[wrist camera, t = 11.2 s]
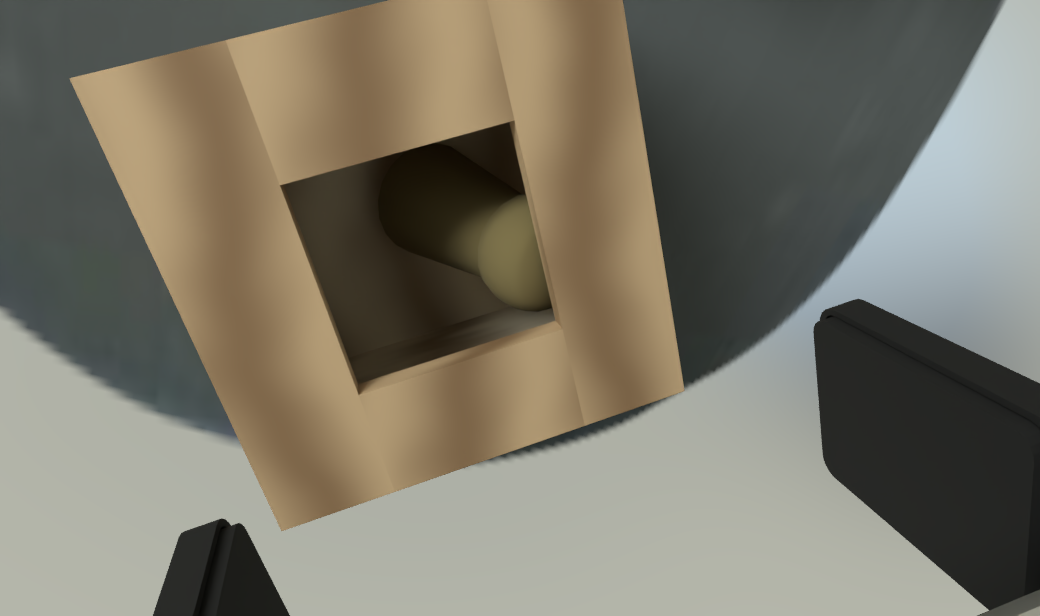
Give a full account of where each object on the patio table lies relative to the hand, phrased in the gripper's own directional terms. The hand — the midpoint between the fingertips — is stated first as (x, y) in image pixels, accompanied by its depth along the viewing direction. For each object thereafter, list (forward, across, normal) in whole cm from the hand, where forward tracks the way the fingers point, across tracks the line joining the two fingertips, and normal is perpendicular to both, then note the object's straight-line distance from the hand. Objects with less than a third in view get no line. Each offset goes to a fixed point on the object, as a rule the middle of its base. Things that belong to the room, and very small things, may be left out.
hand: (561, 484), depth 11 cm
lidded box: (+30, 0, +1) cm, 30 cm away
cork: (+28, -1, +1) cm, 28 cm away
